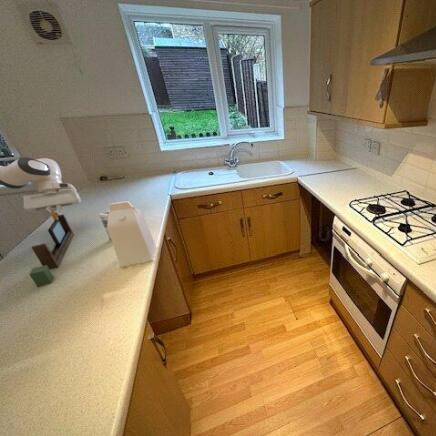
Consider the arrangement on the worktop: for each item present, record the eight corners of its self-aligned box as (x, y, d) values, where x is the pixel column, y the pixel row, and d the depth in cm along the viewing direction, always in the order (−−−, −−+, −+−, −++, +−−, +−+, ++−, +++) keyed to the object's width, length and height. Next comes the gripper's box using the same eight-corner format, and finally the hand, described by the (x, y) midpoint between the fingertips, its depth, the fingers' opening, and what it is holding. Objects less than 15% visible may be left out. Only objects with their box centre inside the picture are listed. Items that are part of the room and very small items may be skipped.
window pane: (64, 234, 119) (51, 211, 113) (67, 233, 119) (55, 210, 113) (57, 247, 109) (43, 222, 103) (60, 246, 109) (46, 221, 103)
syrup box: (109, 240, 118) (97, 214, 111) (119, 234, 123) (109, 209, 116) (118, 242, 117) (107, 215, 110) (128, 235, 122) (118, 210, 115)
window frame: (64, 236, 122) (53, 216, 116) (74, 234, 124) (63, 214, 118) (45, 270, 98) (31, 247, 92) (58, 267, 100) (44, 244, 94)
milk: (156, 246, 113) (139, 195, 101) (152, 260, 103) (133, 206, 91) (127, 251, 109) (106, 199, 97) (120, 267, 100) (96, 210, 88)
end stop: (40, 280, 93) (32, 268, 90) (54, 276, 95) (46, 264, 92) (37, 286, 90) (29, 274, 87) (51, 283, 91) (43, 270, 89)
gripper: (18, 190, 110) (21, 218, 107) (74, 183, 119) (79, 208, 116) (27, 196, 115) (30, 222, 112) (80, 189, 124) (84, 213, 121)
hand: (55, 215), depth 114 cm, fingers closed, pressing on window pane
